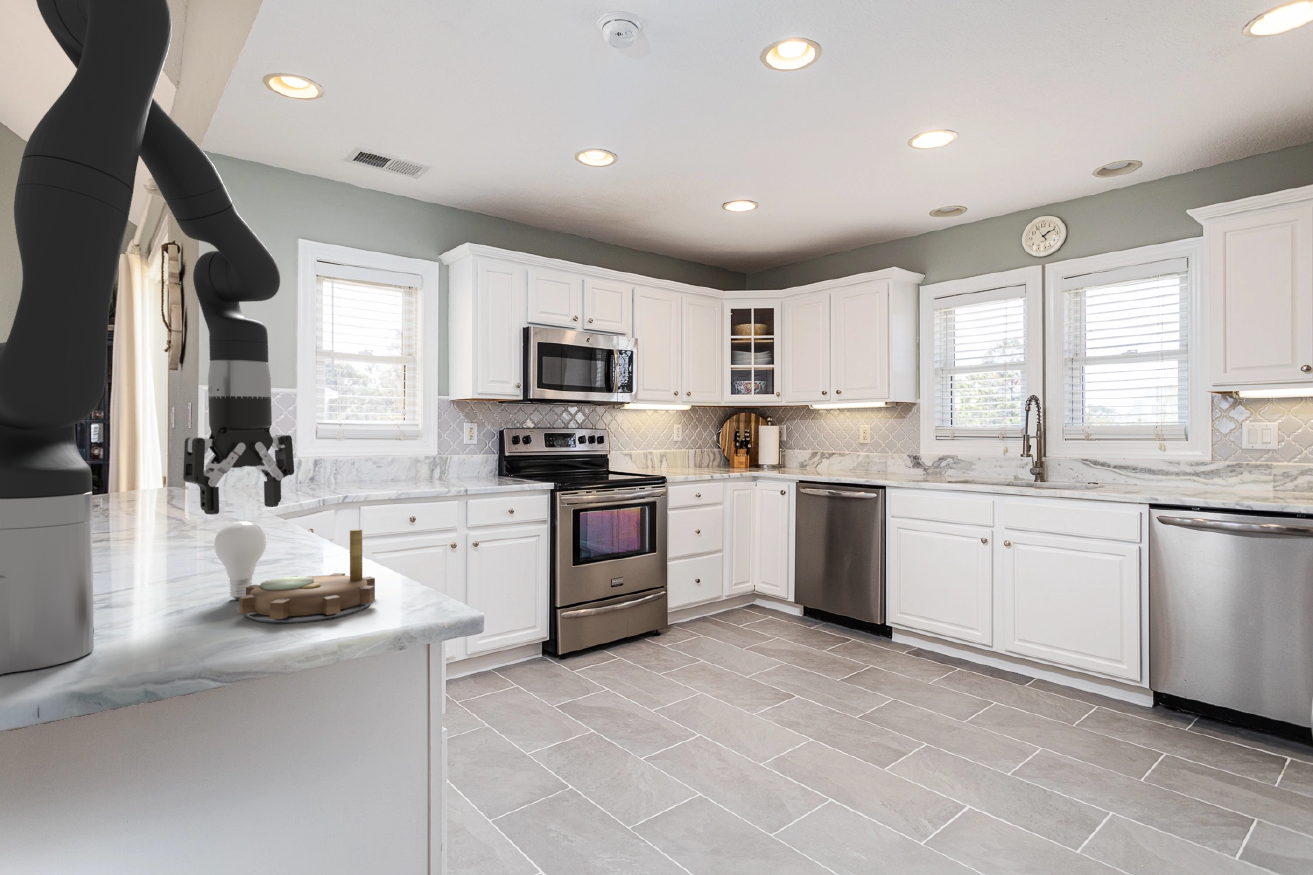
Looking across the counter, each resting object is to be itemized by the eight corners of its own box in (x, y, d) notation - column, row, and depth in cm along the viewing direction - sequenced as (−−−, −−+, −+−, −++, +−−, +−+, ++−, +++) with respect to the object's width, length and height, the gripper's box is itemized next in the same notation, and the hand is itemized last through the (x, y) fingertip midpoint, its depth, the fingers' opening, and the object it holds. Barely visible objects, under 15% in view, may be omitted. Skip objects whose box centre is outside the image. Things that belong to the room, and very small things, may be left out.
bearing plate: (297, 629, 82) (297, 625, 82) (220, 613, 89) (220, 610, 89) (395, 601, 96) (395, 597, 96) (321, 589, 102) (321, 585, 102)
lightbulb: (225, 607, 92) (225, 525, 92) (206, 599, 96) (206, 521, 96) (275, 598, 97) (274, 520, 97) (255, 591, 101) (254, 516, 101)
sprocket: (397, 602, 92) (397, 535, 92) (260, 627, 81) (259, 551, 81) (350, 581, 104) (350, 522, 104) (223, 600, 92) (223, 534, 92)
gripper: (203, 392, 88) (206, 519, 88) (304, 395, 101) (306, 505, 101) (169, 393, 91) (172, 515, 92) (271, 396, 104) (273, 502, 105)
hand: (243, 510), depth 96 cm, fingers open, 8 cm apart
